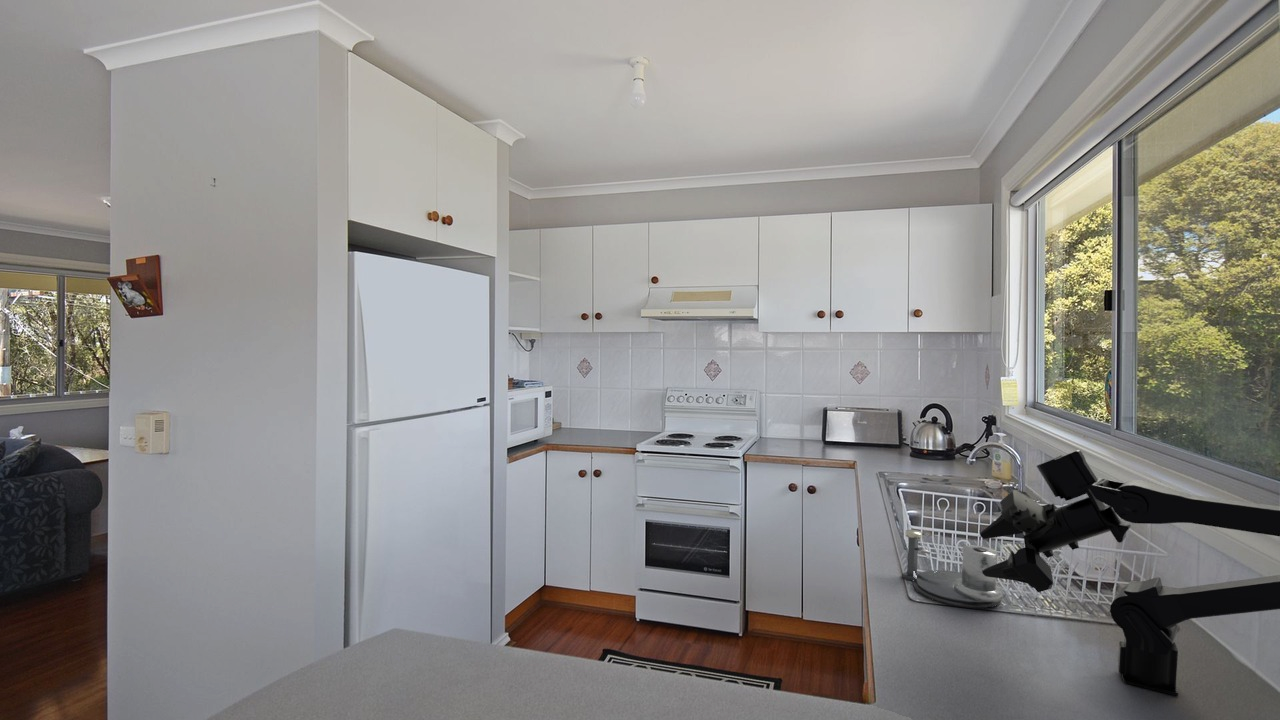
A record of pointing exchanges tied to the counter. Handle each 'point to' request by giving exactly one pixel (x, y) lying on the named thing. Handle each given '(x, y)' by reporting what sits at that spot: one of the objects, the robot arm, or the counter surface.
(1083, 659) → the counter surface
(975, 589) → the cover
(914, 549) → the stand
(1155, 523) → the robot arm
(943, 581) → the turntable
